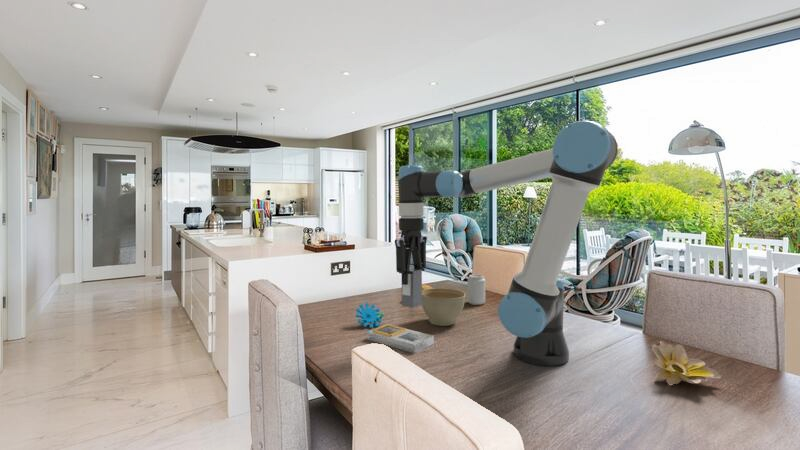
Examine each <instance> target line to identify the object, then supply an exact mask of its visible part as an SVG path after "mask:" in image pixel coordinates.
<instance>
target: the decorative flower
mask: <svg viewBox="0 0 800 450" xmlns="http://www.w3.org/2000/svg"><path fill="white" fill-rule="evenodd" d="M659 343H660V344H659V345H656V344H652V345H651V349H652V351H653V353H654V354H655V356H656V357H657V358H656V360H655V361H654V364H655V365H656V366H657V367H658V368H660V369H662V370H661V371H660V372H659V373H657V374H656V375H655V377H654V379H656V378H657V379H659V378H666V379H665V380H666V381H665V382H666V383H668V384H676V385H677V384H679V383H681V382H687V383H689V384H699V383H701V382H702V381H708V379H707V378H710V379H711V378H712V379H721V378H722V376H721V375H720V374H719V372H718V371H716V369H713V368H710V367H708V366H706V363H705V361H703V360H702V359H701V358H700V359H699V358H695V357H694V358H692V357H691V358H689V357H688V355H687V352H686V349H685V347H684V346H683V345H681V344H680V343H679V344H676V345H675V346H673V345H672V344H670V343H667V344H666V343H665V342H664V341H662V340H660V341H659ZM668 384H667V385H668Z"/></svg>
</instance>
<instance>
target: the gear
mask: <svg viewBox="0 0 800 450" xmlns="http://www.w3.org/2000/svg"><path fill="white" fill-rule="evenodd" d="M364 305H365V308H364ZM369 305H370V303H369V302H365V304H364V303H361V304H359V306H358V307H357V308H356V309H355V312H356V313H355V317H356V318H358V319H357V322H358V323H359V324H361V323H362V322H363V324H362V327H364V328H366V327H368V324H369V327H368V329H374V328H378V327H380V326H379V325H380V324H381V323H382V321H383V319H382V317H383V318H384V316H385V315H386V313H385V312H382V313H381V312H380V311H381V309H380V308H379V307H377V308H375V307H376V304H374V303H372V304H371V305H370V307H369ZM379 312H380V313H379Z"/></svg>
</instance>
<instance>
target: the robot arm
mask: <svg viewBox="0 0 800 450" xmlns="http://www.w3.org/2000/svg"><path fill="white" fill-rule="evenodd" d="M618 150H619V148H618V143H617V140H616V138H615V136H614V135H613V134H612V133H611V132H610V131H608V129H607V128H606V127H605V126H604V125H603V124H602V123H601V124H600V123H598V122H595V121H590V120H577V121H574V122H572V123H570V124H567V125H566V126H564V127H563V128H562V129H561V130H560V131H559V132H558V133H557V134H556V136H555V138H554V141H553V144H552V148H549V149H544V150H542V151H537V152H533V153H528V154H526V155H522V156H518V157H514V158H511V159H506V160H503V161H499V162H494V163H490V164H487V165H484V166H479V167H475V168H472V169H467V170H464V171H461V172H459V171H457V170H449V169H447V170H437V171H435V170H433V171H424V167H423V166H422V165H417V164H416V165H415V164H413V165H412V164H411V165H402V166H400V167H399V169H398V177H397V178H398V179H397V185H398V215H399V219H398V230H399V231H401V233H400V238H399V239H394V245H395V258H396V262H395V264H396V265H395V266H396V273H399V274H401V294H402V293H403V295H408V296H410V295H411V274H409V269H410V268H411V259H412V263H413V264H412V265H413V268H415V269H422V272H424V271H425V268H426V266H427V240H428V237H427V236H424V235H422V232H421V231H423V230H424V228H425V227H424V224H425V223H424V218H423V216H424V215H425V211H424V198H446V199H447V198H467V197H470V196H472V195H475V194H480V193H483V192H488V191H492V190H498V189H502V188H507V187H512V186H516V185H521V184H526V183H530V182H535V181H538V180H545V179H548V178H551V181H552V183H551V186H550V189H549V191H548V194H547V197H546V200H545V203H544V206H543V209H542V212H541V215H540V218H539V221H538V223H537V226H536V230H535V232H534V236H533V238H532V241H531V244H530V247H529V250H528V253H527V255H526V258H525V261H524V264H523V268H522V270H521V271H520V272H518V273H515V274H514V276H513V277H512V281H511V283H510V285H509V288H508V292H507V294H505V295H504V296H503V297H502V298H501V300H500V302H499V303H498V307H497V313H498V319H499V320H500V322H501V324H502V326H503V328H505V330H506V331H508V332H509V333H510V334H512V335H514V336H516V337H515V341H514V343H513V347H512V349H513V355H514V357H516V358H517V359H518V360H520V361H522V362H525V363H528V364H532V365H538V366H544V367H545V366H547V367H548V366H551V367H553V366H560V365H561V366H562V365H564V364H566V363H568V362H569V359H570V351H569V346H568V343H567V340H566V337H565V335H564V309H565V308H564V305H565V303H564V301H565V300H564V297H565V284H564V281H563V279H562V278H559V276H560V274H561V271H562V268H563V265H564V263H565V261H566V257H567V254H568V251H569V249H570V246H571V244H572V241H573V238H574V236H575V233H576V230H577V228H578V225H579V221H580V219H581V216H582V213H583V211H584V208H585V206H586V203H587V200H588V197H589V196H590V195H589V194H590V192H593V190H597V188H600V185H601V183H602V180H603V179H604V175H605V172H606V170H608V169H609V168H610V167H611V166H612V165H613V164H614V162H615V161H616V158H617V156H618V152H619V151H618ZM405 269H406V270H405ZM567 361H568V362H567Z"/></svg>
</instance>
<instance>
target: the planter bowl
mask: <svg viewBox="0 0 800 450" xmlns="http://www.w3.org/2000/svg"><path fill="white" fill-rule="evenodd" d="M465 299H466V293H465V292H464V291H462V290H458V289H454V288H448V287H447V288H446V287H441V288H440V287H433V288H432V289H426V290H423V291H422V305H421V306H422V309H423V311H424V313H425V315H426V317H427V318H428V321H429V323H430V324H432V325H434V326H435V325H436V326H440V327H441V326H442V327H443V326H444V327H446V326H452V325H455V324H456V322H457V321H456V320H457V319H458V318H459V317H460V316H461V314H462V312H463V309H464V307H465Z"/></svg>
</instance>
